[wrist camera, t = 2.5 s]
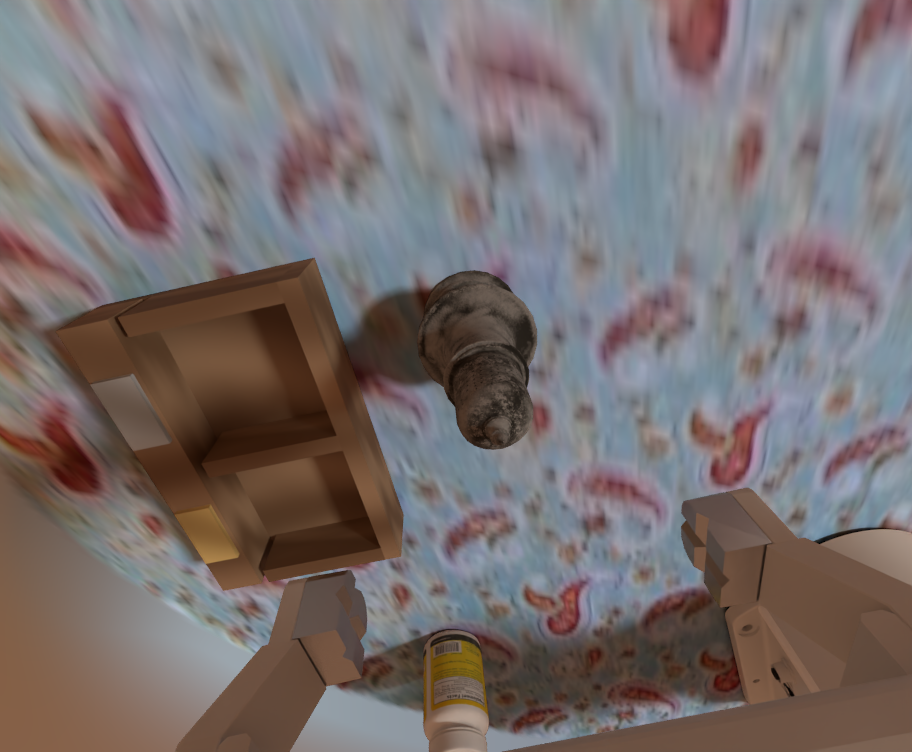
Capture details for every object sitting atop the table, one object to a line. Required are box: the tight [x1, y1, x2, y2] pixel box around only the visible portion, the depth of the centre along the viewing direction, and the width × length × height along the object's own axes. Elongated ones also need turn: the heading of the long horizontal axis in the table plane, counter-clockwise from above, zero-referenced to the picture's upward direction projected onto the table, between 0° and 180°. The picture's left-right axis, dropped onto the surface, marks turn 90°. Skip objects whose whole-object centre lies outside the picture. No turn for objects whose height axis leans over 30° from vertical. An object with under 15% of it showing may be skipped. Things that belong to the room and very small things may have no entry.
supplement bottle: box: [423, 630, 489, 752], centre depth 36 cm, size 5×5×8 cm
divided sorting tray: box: [56, 258, 403, 591], centre depth 27 cm, size 18×12×4 cm, turn 12°
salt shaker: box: [417, 270, 537, 450], centre depth 21 cm, size 6×6×12 cm
